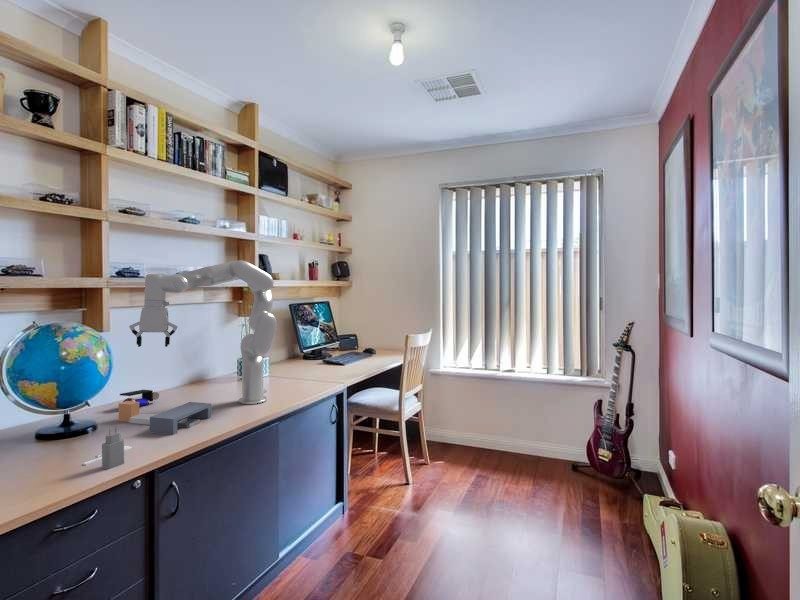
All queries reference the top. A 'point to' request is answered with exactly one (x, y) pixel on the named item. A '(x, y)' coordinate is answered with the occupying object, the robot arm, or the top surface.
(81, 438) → the top surface
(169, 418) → the riser shelf
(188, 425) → the steel token
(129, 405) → the scraper tool
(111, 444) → the power adapter
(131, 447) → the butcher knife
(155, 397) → the figurine character
